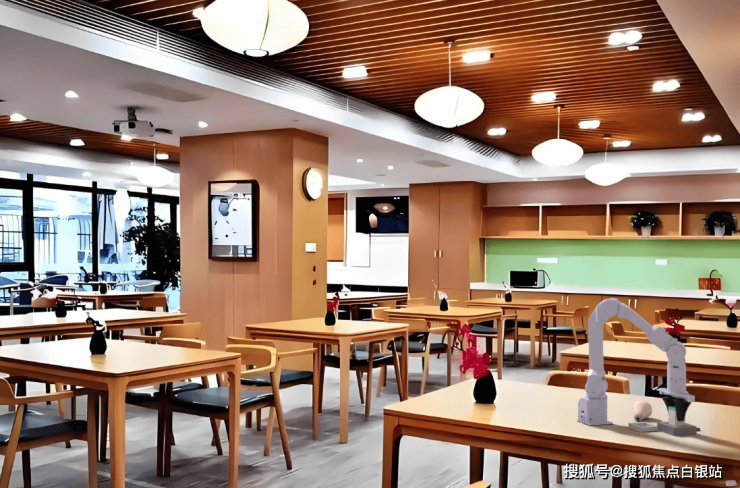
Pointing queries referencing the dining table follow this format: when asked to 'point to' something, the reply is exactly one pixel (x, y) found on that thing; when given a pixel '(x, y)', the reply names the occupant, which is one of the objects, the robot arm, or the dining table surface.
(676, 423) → the plug
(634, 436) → the dining table surface
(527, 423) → the dining table surface
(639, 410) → the light bulb
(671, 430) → the panel
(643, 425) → the tray
